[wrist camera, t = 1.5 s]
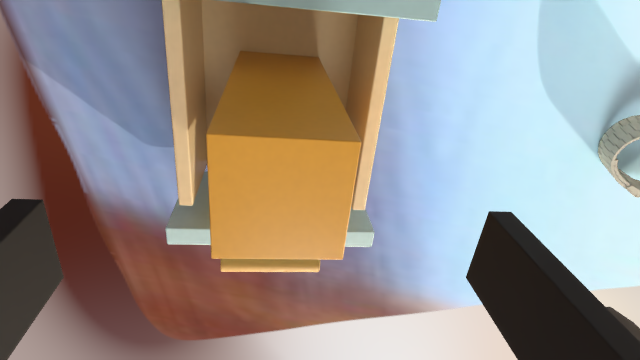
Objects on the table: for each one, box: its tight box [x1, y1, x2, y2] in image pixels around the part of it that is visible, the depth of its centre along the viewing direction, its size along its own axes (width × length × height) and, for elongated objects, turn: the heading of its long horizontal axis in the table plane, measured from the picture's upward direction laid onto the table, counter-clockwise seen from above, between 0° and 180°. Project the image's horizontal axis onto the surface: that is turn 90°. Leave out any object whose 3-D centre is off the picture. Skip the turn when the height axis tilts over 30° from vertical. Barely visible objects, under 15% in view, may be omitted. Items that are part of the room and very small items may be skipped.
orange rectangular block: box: [206, 51, 361, 260], centre depth 20 cm, size 5×5×14 cm
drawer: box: [162, 0, 399, 272], centre depth 24 cm, size 21×13×7 cm, turn 174°
